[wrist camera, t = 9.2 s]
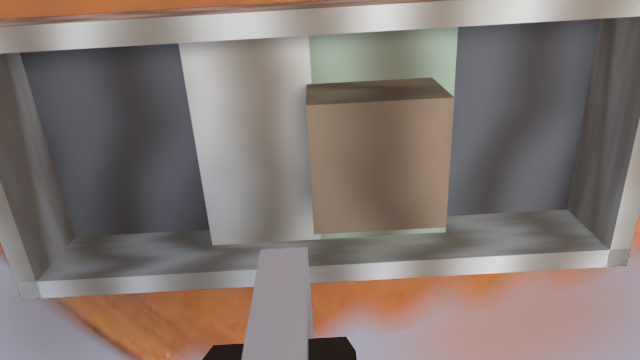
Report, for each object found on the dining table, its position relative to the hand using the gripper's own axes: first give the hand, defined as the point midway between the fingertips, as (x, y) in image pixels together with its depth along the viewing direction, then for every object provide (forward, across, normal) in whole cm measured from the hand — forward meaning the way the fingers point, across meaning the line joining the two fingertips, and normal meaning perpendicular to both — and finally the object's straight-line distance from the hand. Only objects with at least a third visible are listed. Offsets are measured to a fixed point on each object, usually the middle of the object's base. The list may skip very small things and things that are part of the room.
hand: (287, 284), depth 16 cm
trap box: (+16, +1, 0) cm, 16 cm away
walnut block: (+14, +4, 0) cm, 14 cm away
